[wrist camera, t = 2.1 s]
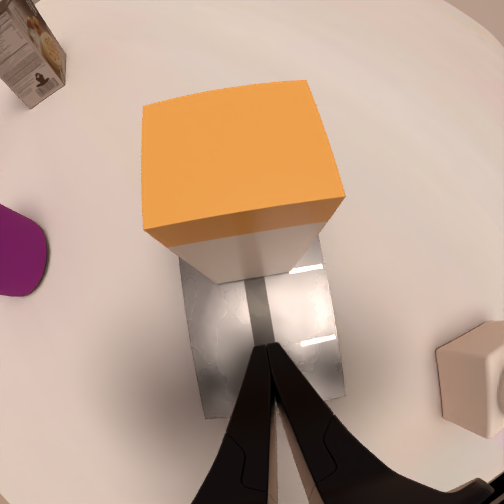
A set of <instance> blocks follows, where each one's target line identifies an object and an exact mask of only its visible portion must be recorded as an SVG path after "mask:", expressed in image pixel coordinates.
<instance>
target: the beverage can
mask: <svg viewBox="0 0 504 504" xmlns="http://www.w3.org/2000/svg"><path fill="white" fill-rule="evenodd" d="M46 254H47V247H46V240H45V236H44V234H43V231H42V229H41V228H40V227H39V226H38V225H37V224H36V223H35V222H34V221H32V220H31V219H29V218H27V217H25V216H23V215H21V214H19V213H17V212H15V211H13V210H11V209H9V208H7V207H5V206H3V205H1V204H0V295H6V296H17V297H21V296H25V295H27V294H29V293H31V292H32V291H33V290H34V288H35V287H36V286H37V285H38V283H39V281H40V279H41V277H42V275H43V272H44V268H45V264H46Z"/></svg>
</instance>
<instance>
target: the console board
mask: <svg viewBox="0 0 504 504" xmlns="http://www.w3.org/2000/svg"><path fill="white" fill-rule="evenodd" d="M179 263H180V272H181V280H182V288H183V295H184V303H185V310H186V316H187V323H188V329H189V336H190V342H191V348H192V353H193V359H194V365H195V370H196V375H197V381H198V386H199V391H200V396H201V401H202V405H203V410H204V415H205V419H213V418H224V417H231V414H232V411H233V408H234V405H235V402H236V399H237V396H238V393H239V390H240V387H241V383H242V380H243V377H244V374H245V371H246V368H247V365H248V361H249V358H250V355H251V352H252V349H253V347H254V346H255V345H260V344H265V345H267V344H268V343H272V342H279V343H280V345H281V346H282V347H283V348H284V350H285V351H286V352H287V354H288V355H289V356H290V358H291V359H292V360H293V362H294V363H295V364H296V366H297V367H298V368H299V369H300V371H301V372H302V373H303V375H304V376H305V377H306V379H307V380H308V381H309V382H310V384H311V385H312V386H313V388H314V389H315V390H316V391H317V393H318V394H319V395H320V396H321V398H322V399H323V400H324V401H326V400H330V399H334V398H338V397H342V396H346V394H345V386H344V378H343V371H342V363H341V356H340V350H339V343H338V337H337V330H336V324H335V318H334V312H333V307H332V301H331V295H330V290H329V285H328V279H327V274H326V269H325V264H324V259H323V255H322V250H321V245H320V240H319V236H317V237H316V238H315V240H314V241H313V242H312V244H311V245H310V247H309V248H308V249H307V251H306V252H305V253H304V255H303V256H302V257H301V259H300V260H299V261H298V263H297V264H296V265H295V267H294V268H293V269H292V271H291V272H285V273H280V274H274V275H268V276H262V277H256V278H250V279H244V280H238V281H231V282H225V283H219V284H216V283H215V282H214V281H212V280H211V279H209V278H208V277H207V276H205V275H204V274H202V273H201V272H200V271H198V270H197V269H195V268H194V267H193V266H191V265H190V264H189V263H187V262H186V261H184V260H183V259H182V258H180V257H179ZM266 348H267V347H266ZM273 390H274V389H273ZM274 396H275V395H274ZM275 405H276V411H277V410H278V407H277V404H276V400H275Z"/></svg>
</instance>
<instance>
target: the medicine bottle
mask: <svg viewBox="0 0 504 504" xmlns="http://www.w3.org/2000/svg"><path fill="white" fill-rule="evenodd" d="M436 357H437V364H438V371H439V379H440V387H441V397H442V409H443V418H444V419H446V420H448V421H450V422H453V423H455V424H457V425H459V426H461V427H463V428H465V429H467V430H469V431H471V432H474V433H476V434H478V435H480V436H482V437H484V438H487V439H490V438H492V437H493V436H494V435H496V434H497V433H498V432H499V431H501V430H502V429H503V428H504V321H487V322H485V323H483V324H482V325H480V326H478V327H477V328H475V329H473V330H471V331H470V332H468V333H466V334H464V335H463V336H461V337H459V338H457V339H455V340H453V341H452V342H450V343H448V344H446V345H444V346H442V347H440V348H438V349H437V350H436Z"/></svg>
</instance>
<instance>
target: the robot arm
mask: <svg viewBox="0 0 504 504" xmlns="http://www.w3.org/2000/svg"><path fill="white" fill-rule="evenodd" d="M266 347H267V348H266ZM273 389H274V390H273ZM274 395H275V396H274ZM275 400H276V404H277V407H278V411H279V414H280V417H281V420H282V423H283V426H284V429H285V432H286V435H287V438H288V441H289V444H290V447H291V451H292V454H293V457H294V460H295V463H296V466H297V469H298V472H299V474H300V477H301V480H302V483H303V486H304V489H305V492H306V495H307V498H308V500H309V504H504V471H503V472H502V473H500V474H499V475H498V476H496V477H495V478H494V479H492V480H491V481H490V482H488V483H486V482H485V481H483V480H482V479H480V478H476V479H473V480H471V481H469V482H467V483H465V484H463V485H461V486H459V487H457V488H455V489H453V490H450V491H448V492H442V491H438V490H436V489H433V488H430V487H428V486H425V485H423V484H420V483H418V482H416V481H413V480H411V479H409V478H406V477H404V476H402V475H400V474H398V473H396V472H395V471H393V470H392V469H390V468H389V467H388V466H386V465H385V464H384V463H383V462H382V461H380V460H379V459H378V458H377V457H376V456H375V455H374V454H372V453H371V452H370V451H369V450H368V449H367V448H366V447H365V446H363V445H362V444H361V443H360V442H359V441H358V440H357V439H356V438H355V437H354V436H353V435H352V434H351V433H350V432H349V431H348V430H347V428H346V427H345V426H344V425H343V424H342V423H341V421H340V420H339V419H338V418H337V416H336V415H333V414H334V413H333V412H332V410H331V409H330V408H329V407H328V405H327V404H326V403H325V402H324V400H323V399H322V398H321V396H320V395H319V394H318V393H317V391H316V390H315V389H314V388H313V386H312V385H311V384H310V382H309V381H308V380H307V379H306V377H305V376H304V375H303V373H302V372H301V371H300V369H299V368H298V367H297V366H296V364H295V363H294V362H293V360H292V359H291V358H290V356H289V355H288V354H287V352H286V351H285V350H284V348H283V347H282V346H281V345H280V343H279V342H272V343H268V344H267V345H265V344H260V345H255V346H254V347H253V349H252V352H251V355H250V358H249V361H248V365H247V368H246V371H245V374H244V377H243V380H242V383H241V387H240V390H239V393H238V396H237V399H236V402H235V405H234V408H233V411H232V414H231V417H230V420H229V423H228V426H227V429H226V433H225V435H224V438H223V441H222V443H221V446H220V449H219V451H218V454H217V456H216V458H215V461H214V463H213V465H212V467H211V469H210V471H209V473H208V475H207V476H206V478H205V480H204V482H203V484H202V486H201V487H200V489H199V491H198V493H197V495H196V497H195V498H194V500H193V501H192V503H191V504H278V485H277V436H276V405H275Z"/></svg>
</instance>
